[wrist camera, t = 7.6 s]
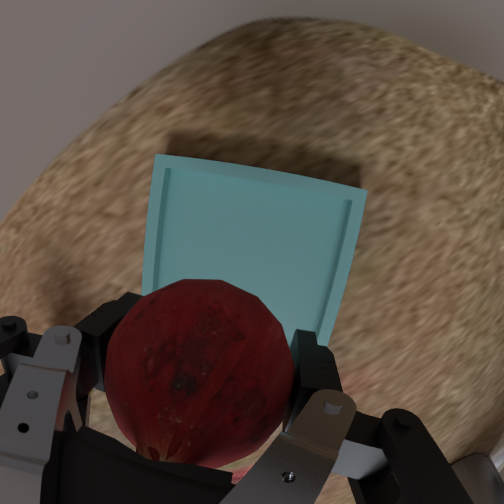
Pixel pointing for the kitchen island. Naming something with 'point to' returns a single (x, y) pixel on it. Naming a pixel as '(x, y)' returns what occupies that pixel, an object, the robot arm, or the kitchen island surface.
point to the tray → (254, 236)
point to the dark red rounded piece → (198, 373)
